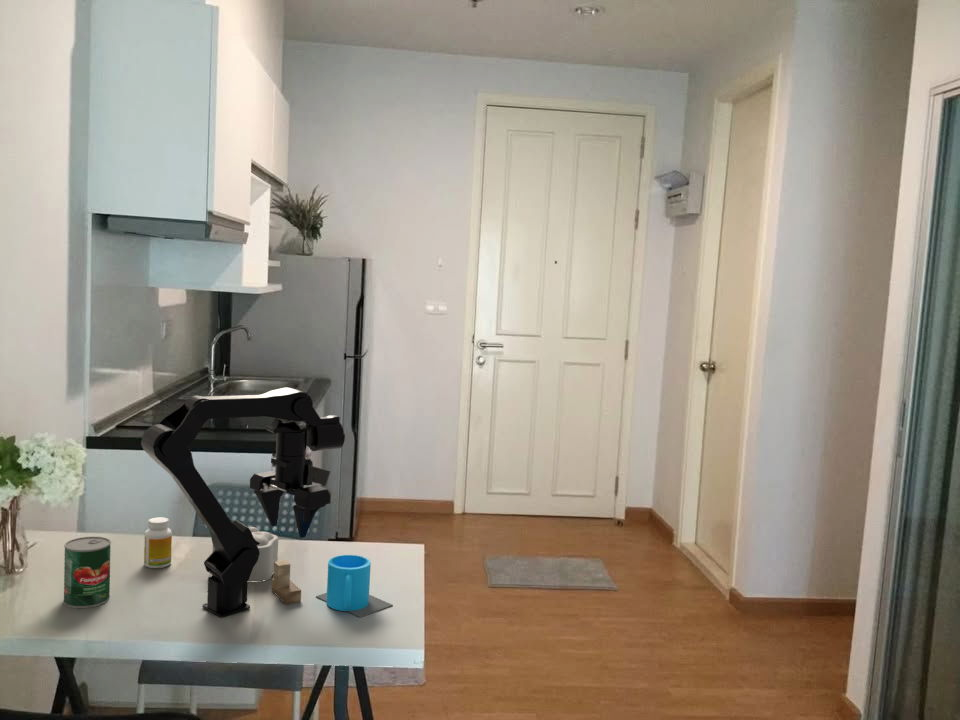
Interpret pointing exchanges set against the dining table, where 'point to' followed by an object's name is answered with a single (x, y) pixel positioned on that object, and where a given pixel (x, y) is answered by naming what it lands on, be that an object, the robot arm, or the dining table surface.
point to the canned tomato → (87, 572)
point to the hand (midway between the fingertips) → (288, 531)
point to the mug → (348, 582)
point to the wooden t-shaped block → (285, 583)
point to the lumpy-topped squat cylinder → (264, 555)
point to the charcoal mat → (372, 606)
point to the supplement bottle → (157, 543)
